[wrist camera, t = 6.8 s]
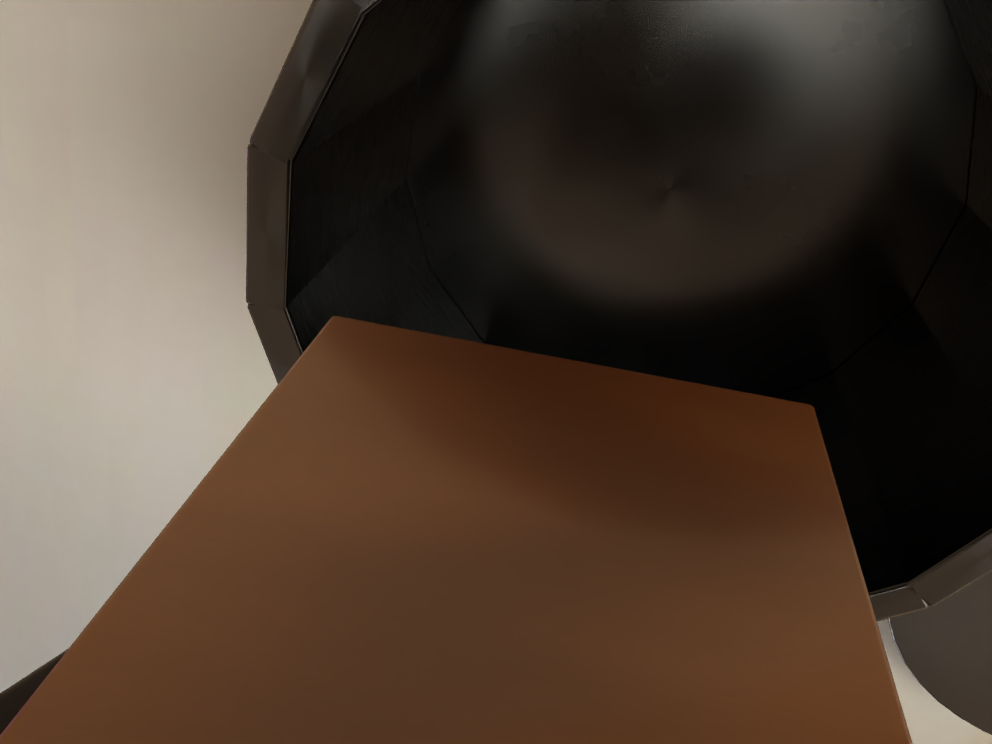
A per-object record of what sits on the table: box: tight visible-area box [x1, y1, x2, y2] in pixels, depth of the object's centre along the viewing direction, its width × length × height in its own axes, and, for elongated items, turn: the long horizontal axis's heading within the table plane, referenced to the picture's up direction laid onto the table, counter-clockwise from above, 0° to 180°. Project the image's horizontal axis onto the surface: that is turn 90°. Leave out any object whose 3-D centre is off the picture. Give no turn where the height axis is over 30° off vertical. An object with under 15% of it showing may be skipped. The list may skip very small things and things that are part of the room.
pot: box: [246, 0, 992, 621], centre depth 15 cm, size 13×13×8 cm
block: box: [0, 316, 912, 744], centre depth 7 cm, size 5×5×5 cm
